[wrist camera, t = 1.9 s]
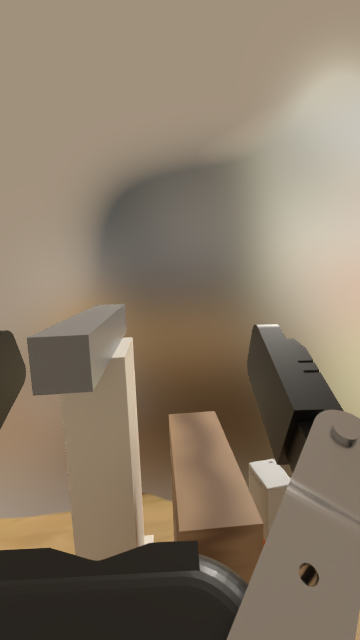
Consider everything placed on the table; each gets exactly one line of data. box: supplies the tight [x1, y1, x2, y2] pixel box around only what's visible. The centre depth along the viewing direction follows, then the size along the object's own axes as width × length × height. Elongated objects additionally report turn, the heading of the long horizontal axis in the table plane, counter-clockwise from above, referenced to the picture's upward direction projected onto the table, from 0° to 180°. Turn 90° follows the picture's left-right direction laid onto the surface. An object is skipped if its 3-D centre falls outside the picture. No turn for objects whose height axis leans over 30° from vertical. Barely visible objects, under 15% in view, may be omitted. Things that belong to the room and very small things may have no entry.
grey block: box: [27, 304, 126, 395], centre depth 32 cm, size 4×24×4 cm, turn 4°
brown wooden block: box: [169, 411, 263, 584], centre depth 32 cm, size 6×18×22 cm, turn 4°
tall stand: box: [60, 337, 154, 561], centre depth 37 cm, size 9×13×32 cm
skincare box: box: [249, 459, 291, 547], centre depth 44 cm, size 6×4×12 cm
